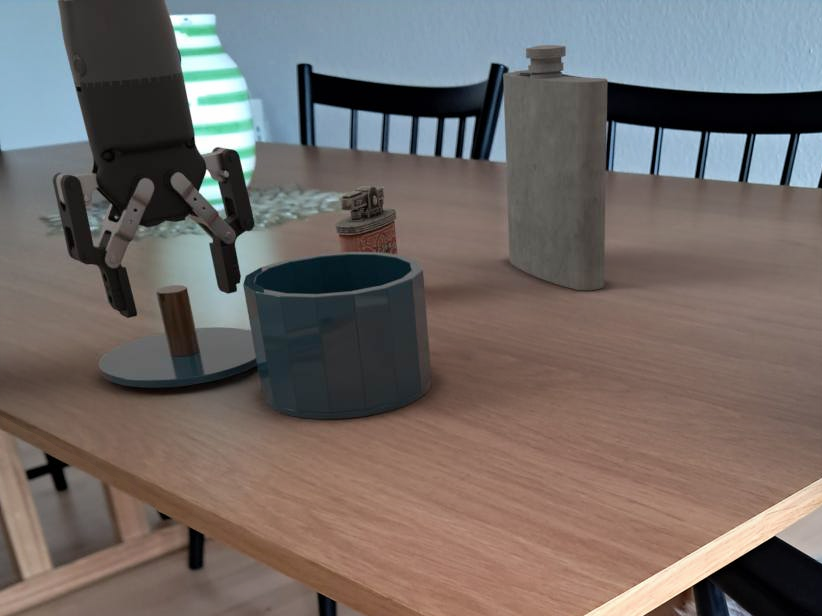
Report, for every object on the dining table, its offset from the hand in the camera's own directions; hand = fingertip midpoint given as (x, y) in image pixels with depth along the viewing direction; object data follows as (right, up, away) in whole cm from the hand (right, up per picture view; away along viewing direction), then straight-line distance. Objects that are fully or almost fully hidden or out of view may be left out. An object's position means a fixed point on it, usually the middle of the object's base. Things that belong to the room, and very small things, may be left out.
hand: (179, 303), depth 80 cm
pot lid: (0, -4, +2) cm, 4 cm away
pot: (+14, -8, -4) cm, 17 cm away
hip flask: (+31, +10, +22) cm, 39 cm away
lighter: (+14, +6, +17) cm, 23 cm away
